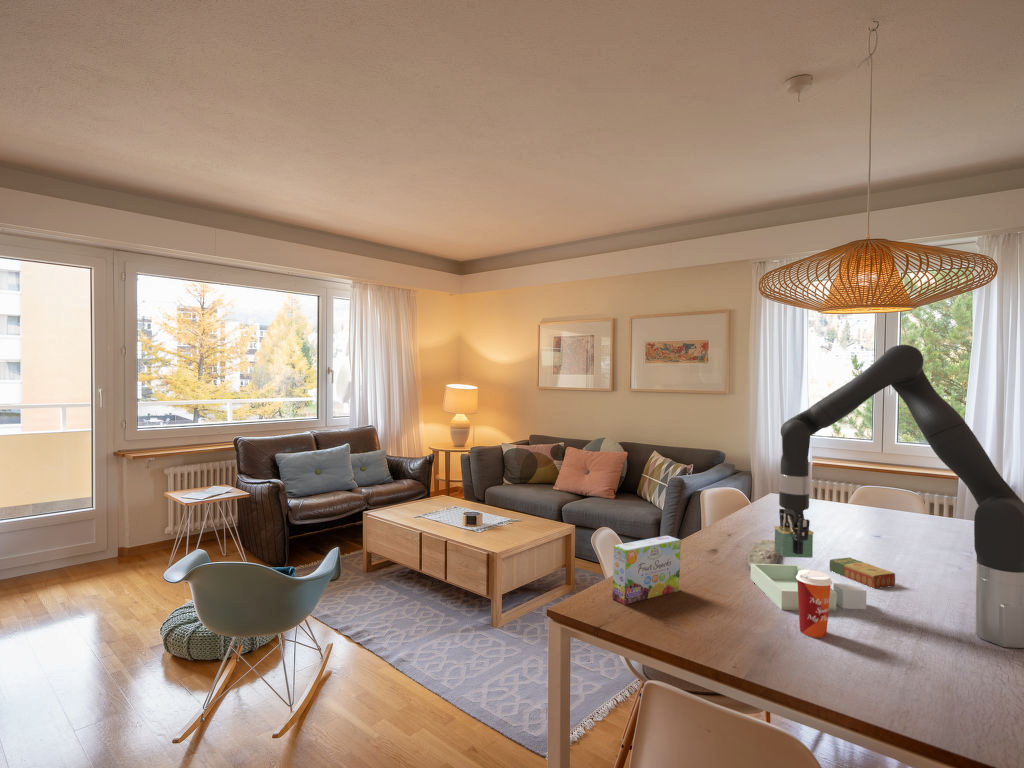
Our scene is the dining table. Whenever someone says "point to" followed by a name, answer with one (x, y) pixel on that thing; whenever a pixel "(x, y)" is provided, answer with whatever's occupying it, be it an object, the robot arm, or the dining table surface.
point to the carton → (862, 572)
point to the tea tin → (791, 543)
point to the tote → (782, 584)
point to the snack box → (646, 569)
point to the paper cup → (813, 602)
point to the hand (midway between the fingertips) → (793, 550)
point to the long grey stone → (762, 553)
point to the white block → (850, 596)
